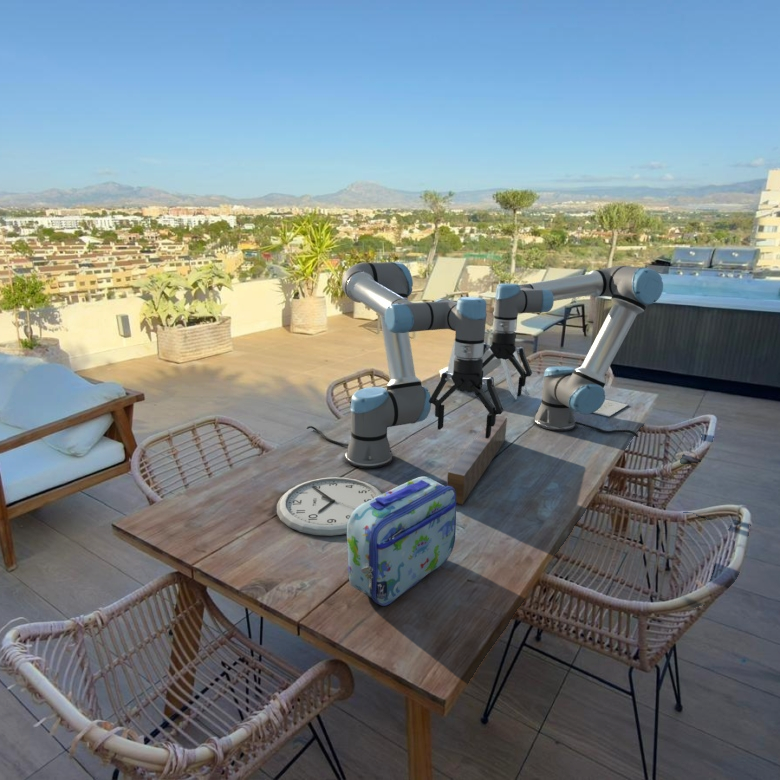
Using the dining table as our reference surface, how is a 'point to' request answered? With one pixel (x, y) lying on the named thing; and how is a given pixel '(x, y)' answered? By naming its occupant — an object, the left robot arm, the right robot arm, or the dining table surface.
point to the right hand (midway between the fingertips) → (499, 392)
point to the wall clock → (324, 504)
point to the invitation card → (610, 408)
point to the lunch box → (400, 538)
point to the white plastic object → (488, 369)
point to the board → (476, 460)
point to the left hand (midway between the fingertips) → (463, 432)
